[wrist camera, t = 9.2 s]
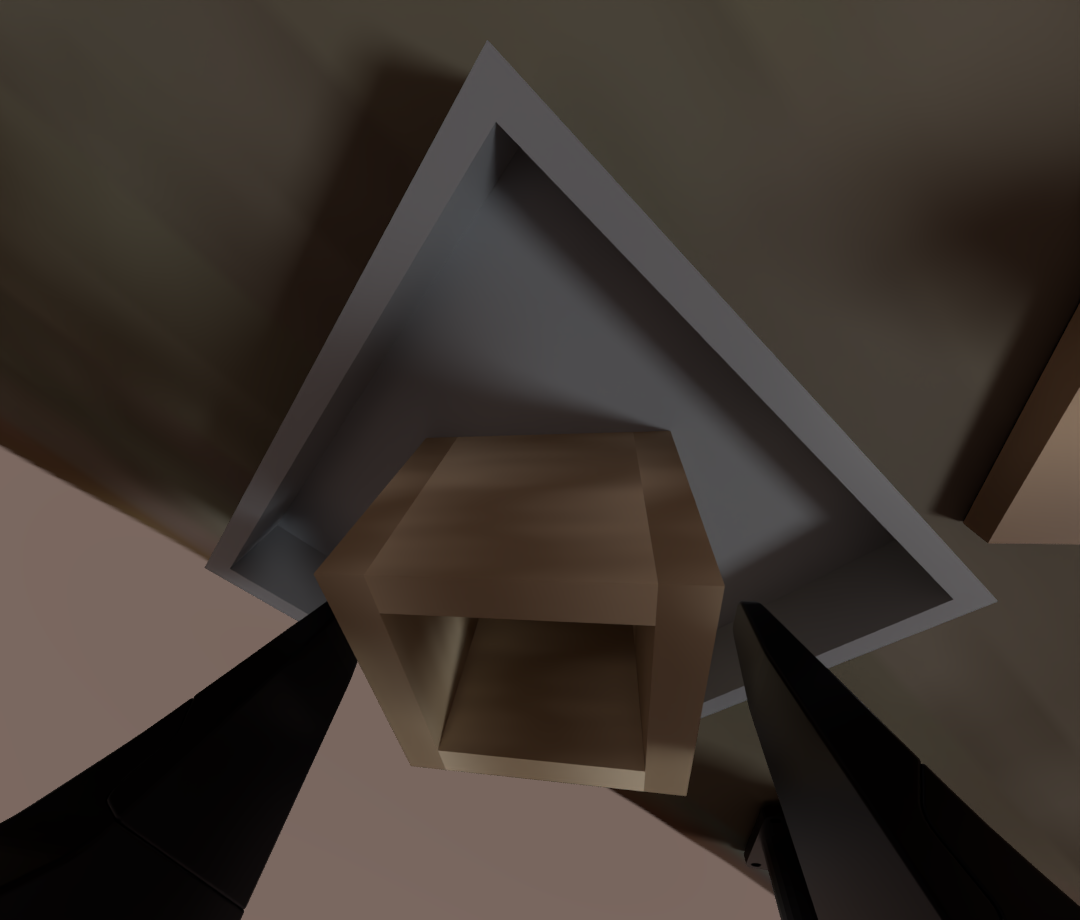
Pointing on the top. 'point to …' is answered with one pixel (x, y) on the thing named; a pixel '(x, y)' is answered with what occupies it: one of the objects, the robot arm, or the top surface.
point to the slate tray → (583, 392)
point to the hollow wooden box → (536, 607)
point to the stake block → (1039, 461)
